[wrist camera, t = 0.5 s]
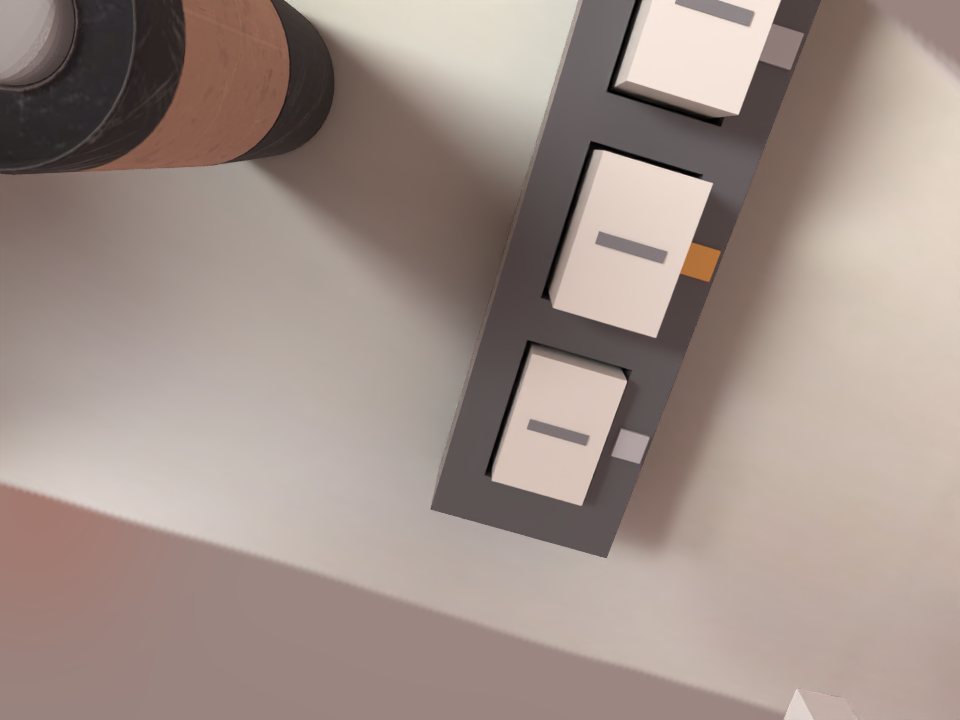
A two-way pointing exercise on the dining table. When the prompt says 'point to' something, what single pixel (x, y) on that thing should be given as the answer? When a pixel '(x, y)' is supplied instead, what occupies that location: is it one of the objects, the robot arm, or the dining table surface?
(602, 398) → the button
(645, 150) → the power strip
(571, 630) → the dining table surface
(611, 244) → the button
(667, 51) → the button
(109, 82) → the travel mug
